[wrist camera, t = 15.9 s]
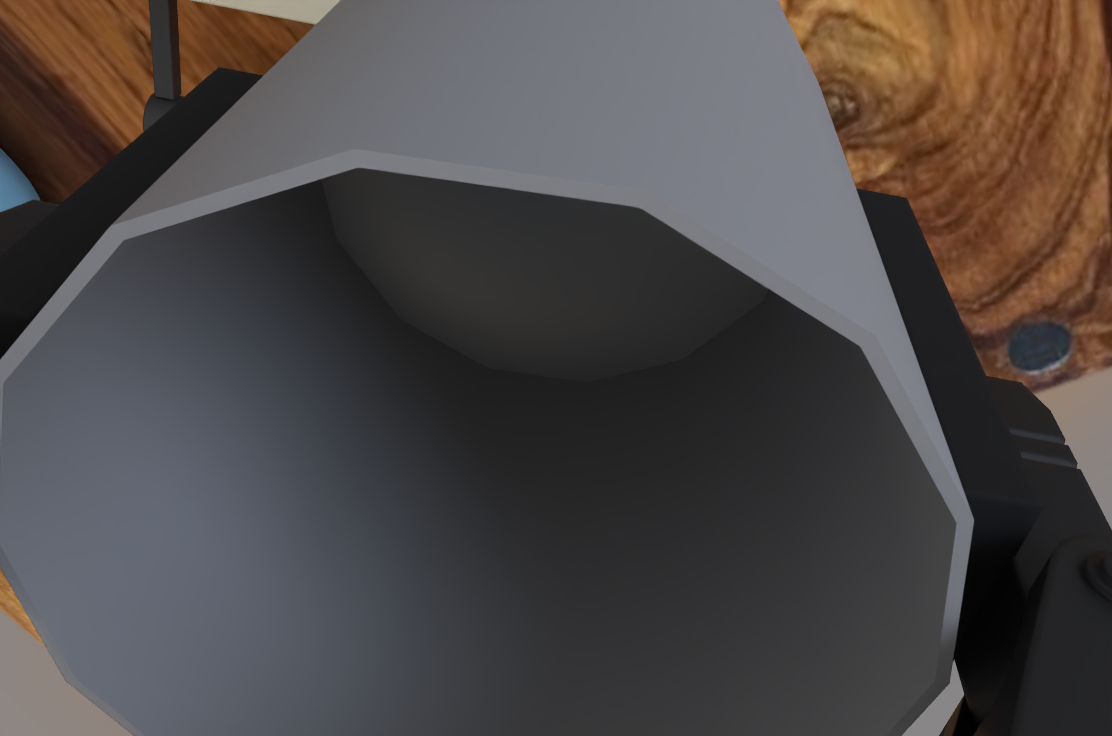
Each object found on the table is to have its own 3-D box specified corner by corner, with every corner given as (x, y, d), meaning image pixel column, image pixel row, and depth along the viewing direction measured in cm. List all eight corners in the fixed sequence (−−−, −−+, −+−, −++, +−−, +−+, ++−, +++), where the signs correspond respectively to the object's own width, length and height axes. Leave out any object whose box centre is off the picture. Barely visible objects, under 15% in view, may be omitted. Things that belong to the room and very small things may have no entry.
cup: (899, 246, 17) (1102, 763, 9) (502, 427, 20) (386, 938, 12) (657, -243, 14) (634, -120, 5) (216, 66, 17) (-228, 447, 8)
